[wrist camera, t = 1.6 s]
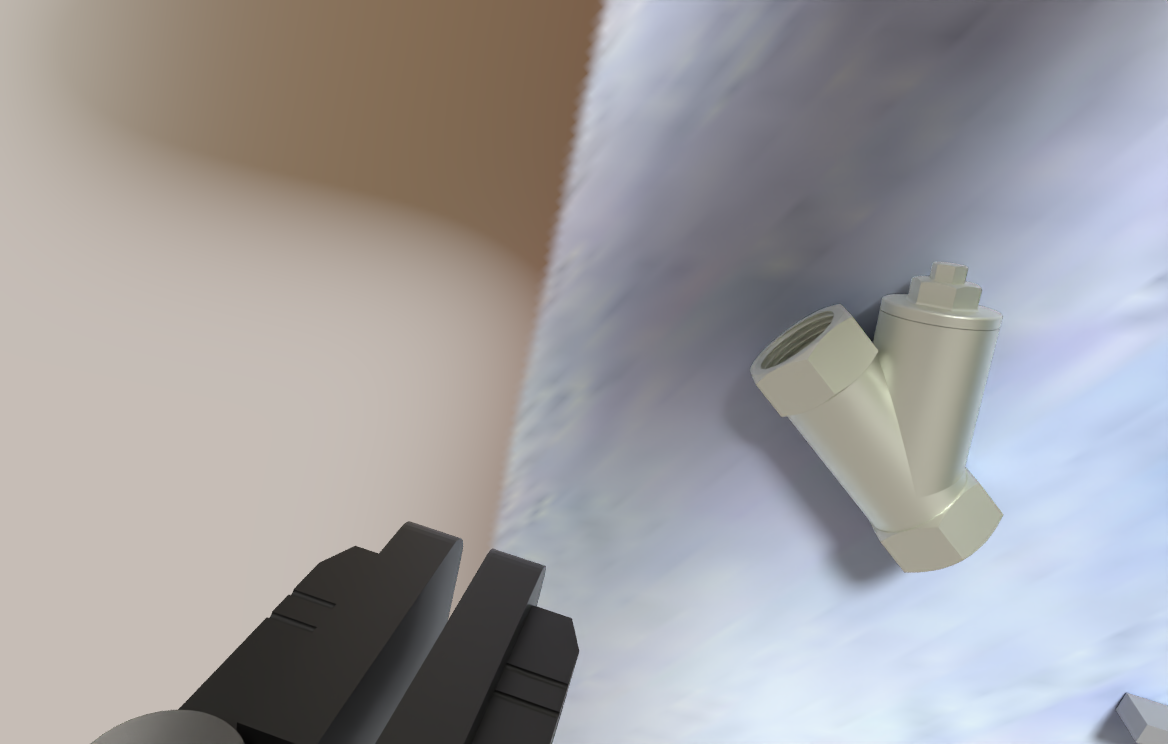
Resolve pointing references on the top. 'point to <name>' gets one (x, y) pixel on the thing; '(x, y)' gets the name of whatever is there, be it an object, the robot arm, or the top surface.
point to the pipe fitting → (897, 411)
